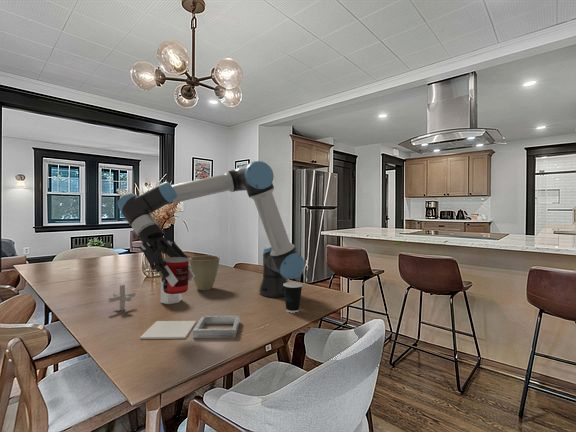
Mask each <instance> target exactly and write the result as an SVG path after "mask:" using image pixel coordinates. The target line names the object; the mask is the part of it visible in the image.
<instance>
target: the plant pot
mask: <svg viewBox="0 0 576 432" xmlns="http://www.w3.org/2000/svg"><path fill="white" fill-rule="evenodd" d="M220 258H221V257H220V256H215V255H198V256H192V257H190V258H189V262H190V269H191V271H192V272H193V273H194V275H195V277H194V278H193V281H194V283H195V286H196V289H197V290H198V291H209V290H211V289H213V286H214V284H215V281H216V279H217V275H218V271H219V265H220Z"/></svg>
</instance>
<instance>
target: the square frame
mask: <svg viewBox="0 0 576 432" xmlns="http://www.w3.org/2000/svg"><path fill="white" fill-rule="evenodd" d="M240 318H241V316H240V315H202V316H201V317H200V319H199V320H198V322H196V323H197V324H195V325H194V327H193V329H192V338H193V339H229V338H230V339H235V338H236V336H237V333H238V330H239V325H240V320H241V319H240ZM222 324H223V325H231V324H232V328H204V327H205V325H222Z"/></svg>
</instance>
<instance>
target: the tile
mask: <svg viewBox="0 0 576 432" xmlns="http://www.w3.org/2000/svg"><path fill="white" fill-rule="evenodd" d="M196 321H197V320H157V321H155V322H154V323H153V324H152V325H151V326H150V327H149V328H148V329H147V330H145V332H144V333H143V334H142V335H141V336H140V337H139V340H182V339H183V340H185V339H186V338H187V337H188V335H190V332H192V330H193V329H194V327H195V326H196V323H197V322H196Z"/></svg>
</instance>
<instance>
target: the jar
mask: <svg viewBox="0 0 576 432" xmlns="http://www.w3.org/2000/svg"><path fill="white" fill-rule="evenodd" d="M182 295H183V293H180V294H167V293H165V292H164V290H163V275H162V274H161V280H160V303H161V304H165V305H172V304H179V303H180V302H181V301H182V297H183V296H182Z"/></svg>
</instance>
